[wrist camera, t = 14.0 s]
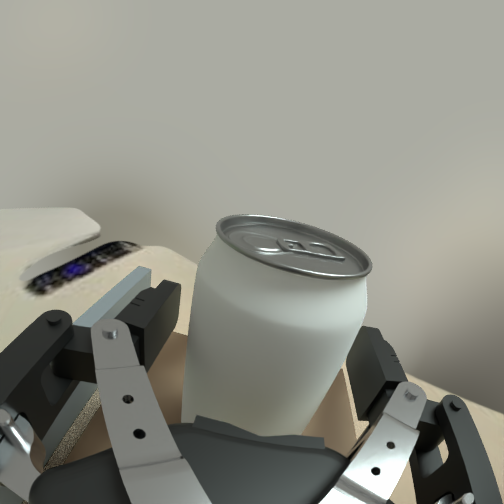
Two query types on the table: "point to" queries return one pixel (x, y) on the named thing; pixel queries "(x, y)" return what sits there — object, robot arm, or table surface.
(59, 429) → the low wall
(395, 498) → the table surface
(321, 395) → the can
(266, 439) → the robot arm
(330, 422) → the walnut board
